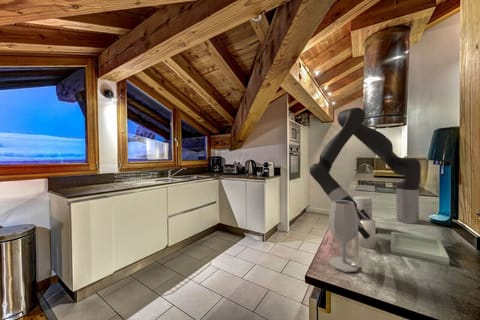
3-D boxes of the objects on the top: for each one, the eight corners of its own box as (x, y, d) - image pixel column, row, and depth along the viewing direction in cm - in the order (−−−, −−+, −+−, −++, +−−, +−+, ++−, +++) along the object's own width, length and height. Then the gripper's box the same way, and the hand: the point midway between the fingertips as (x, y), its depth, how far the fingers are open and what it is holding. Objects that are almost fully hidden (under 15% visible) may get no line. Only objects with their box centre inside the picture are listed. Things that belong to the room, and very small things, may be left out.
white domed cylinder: (360, 241, 84) (359, 217, 84) (376, 244, 81) (375, 219, 81) (358, 246, 80) (357, 221, 80) (375, 250, 76) (374, 223, 76)
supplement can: (354, 229, 97) (353, 198, 97) (351, 224, 105) (351, 195, 104) (374, 231, 94) (373, 199, 94) (370, 226, 102) (369, 196, 101)
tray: (391, 237, 87) (391, 231, 87) (439, 246, 78) (439, 239, 78) (390, 253, 74) (390, 246, 74) (449, 265, 65) (449, 258, 65)
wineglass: (346, 276, 61) (345, 206, 60) (323, 262, 69) (322, 200, 68) (365, 269, 64) (364, 203, 64) (342, 256, 72) (341, 198, 72)
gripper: (337, 197, 82) (370, 235, 73) (356, 193, 90) (388, 227, 80) (326, 207, 87) (355, 245, 77) (345, 202, 95) (373, 236, 85)
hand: (371, 235), depth 79 cm, fingers closed on white domed cylinder, 5 cm apart
